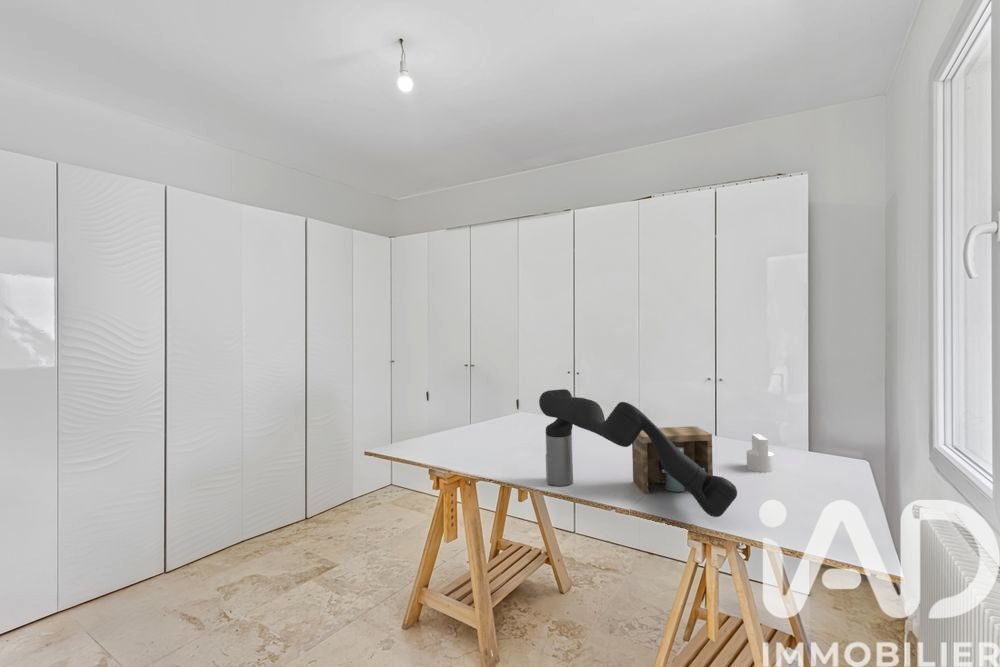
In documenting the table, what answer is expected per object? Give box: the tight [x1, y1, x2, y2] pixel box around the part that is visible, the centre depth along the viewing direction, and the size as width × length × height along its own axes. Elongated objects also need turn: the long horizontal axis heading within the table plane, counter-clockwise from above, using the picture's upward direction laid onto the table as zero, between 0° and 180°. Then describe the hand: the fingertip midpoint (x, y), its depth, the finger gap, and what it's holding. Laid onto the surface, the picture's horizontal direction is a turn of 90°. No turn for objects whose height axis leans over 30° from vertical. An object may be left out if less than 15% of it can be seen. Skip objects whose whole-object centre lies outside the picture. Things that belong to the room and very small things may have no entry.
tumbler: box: [665, 445, 686, 493], centre depth 162 cm, size 6×6×14 cm
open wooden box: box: [631, 425, 714, 495], centre depth 165 cm, size 23×12×19 cm, turn 91°
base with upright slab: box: [746, 433, 775, 474], centre depth 181 cm, size 9×9×12 cm
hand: (671, 460), depth 164 cm, fingers closed on tumbler, 6 cm apart
